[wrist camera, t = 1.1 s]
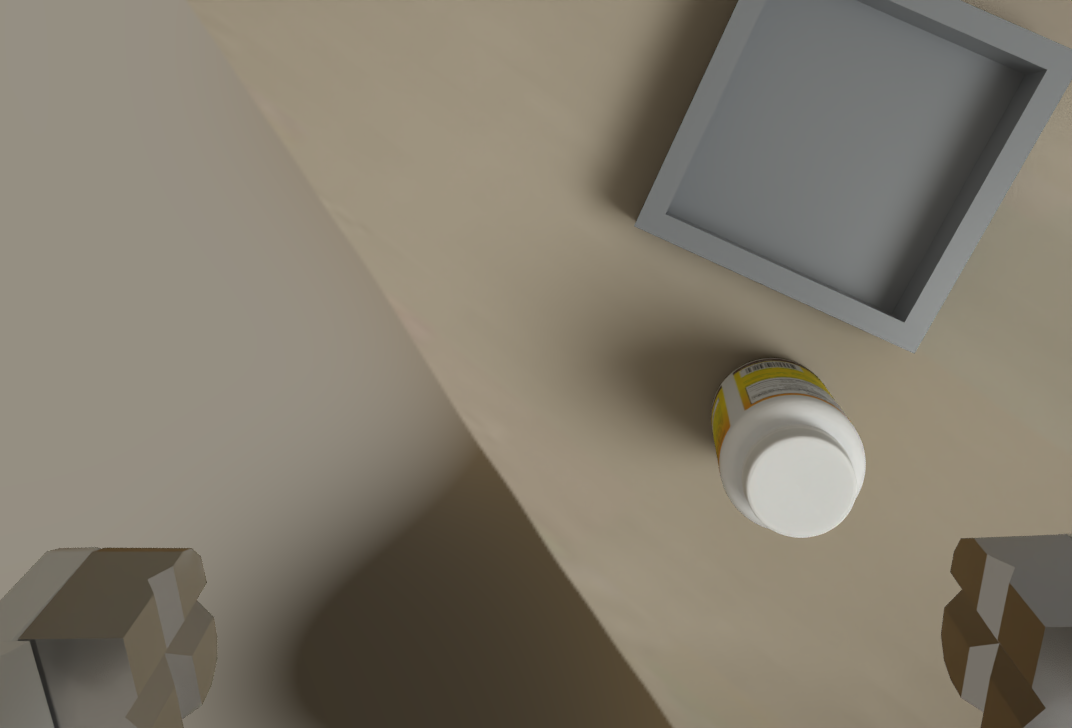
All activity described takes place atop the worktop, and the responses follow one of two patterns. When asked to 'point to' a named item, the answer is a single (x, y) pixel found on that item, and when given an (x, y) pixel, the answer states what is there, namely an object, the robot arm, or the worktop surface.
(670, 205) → the tray
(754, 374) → the supplement bottle
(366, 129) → the worktop surface
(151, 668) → the robot arm
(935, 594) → the worktop surface
